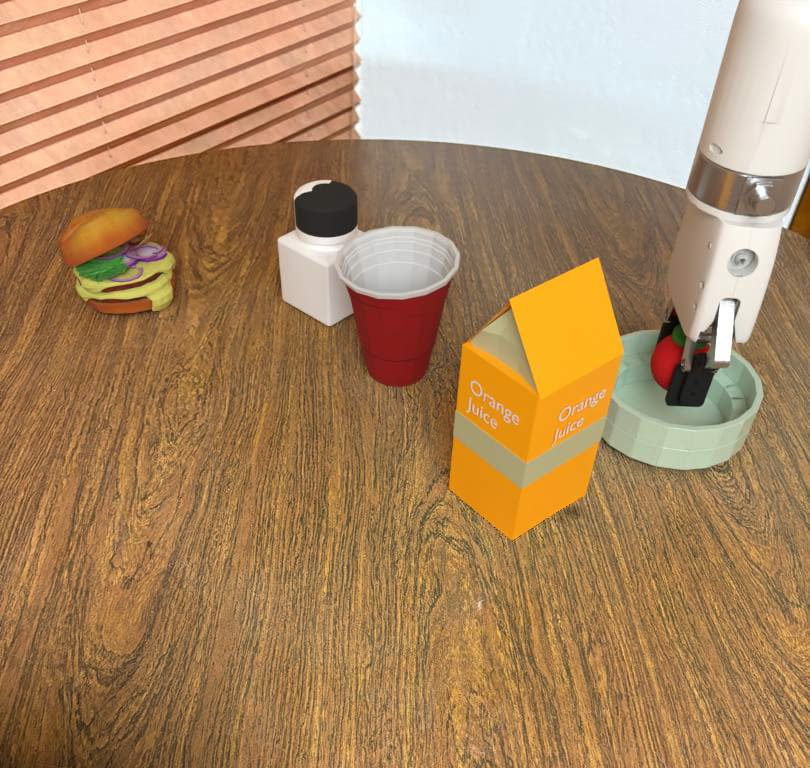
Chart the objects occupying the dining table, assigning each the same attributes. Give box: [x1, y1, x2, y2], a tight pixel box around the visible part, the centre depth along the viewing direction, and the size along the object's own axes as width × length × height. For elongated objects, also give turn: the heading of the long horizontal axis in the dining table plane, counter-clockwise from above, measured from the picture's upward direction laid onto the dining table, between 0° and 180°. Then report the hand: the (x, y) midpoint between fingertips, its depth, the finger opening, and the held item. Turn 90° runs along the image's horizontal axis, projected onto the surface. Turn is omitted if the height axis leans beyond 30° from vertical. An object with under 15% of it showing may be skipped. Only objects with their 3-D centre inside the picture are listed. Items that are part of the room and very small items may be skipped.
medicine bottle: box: [277, 179, 366, 327], centre depth 85 cm, size 7×7×12 cm
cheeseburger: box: [58, 207, 177, 315], centre depth 87 cm, size 10×11×10 cm
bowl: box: [601, 328, 765, 471], centre depth 76 cm, size 14×14×5 cm
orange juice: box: [448, 256, 624, 544], centre depth 64 cm, size 8×9×20 cm
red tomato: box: [651, 324, 710, 391], centre depth 73 cm, size 5×5×6 cm
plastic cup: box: [334, 225, 461, 388], centre depth 78 cm, size 11×11×12 cm
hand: (676, 381), depth 75 cm, fingers closed on red tomato, 5 cm apart
